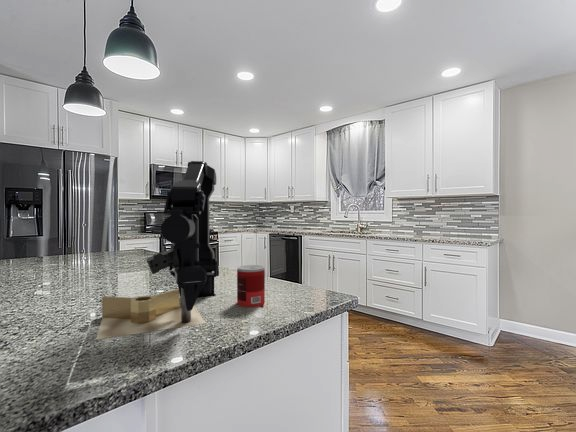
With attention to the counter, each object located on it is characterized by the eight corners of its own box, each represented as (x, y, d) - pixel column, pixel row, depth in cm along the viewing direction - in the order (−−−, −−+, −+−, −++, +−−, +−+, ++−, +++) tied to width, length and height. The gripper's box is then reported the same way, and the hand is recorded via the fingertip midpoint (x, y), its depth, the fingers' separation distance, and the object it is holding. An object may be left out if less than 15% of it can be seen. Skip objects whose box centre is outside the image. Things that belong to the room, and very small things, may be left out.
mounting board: (193, 307, 88) (193, 304, 88) (205, 326, 74) (205, 322, 74) (102, 319, 78) (102, 316, 78) (96, 343, 64) (95, 339, 64)
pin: (190, 319, 76) (190, 286, 76) (191, 322, 74) (191, 288, 74) (180, 320, 75) (180, 287, 75) (181, 323, 73) (181, 289, 73)
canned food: (268, 303, 93) (268, 265, 93) (257, 311, 85) (257, 270, 85) (245, 300, 95) (245, 264, 95) (232, 308, 88) (232, 268, 88)
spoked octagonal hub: (179, 307, 86) (179, 288, 86) (184, 317, 78) (184, 297, 78) (102, 316, 78) (102, 296, 78) (99, 329, 70) (98, 306, 70)
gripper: (146, 237, 79) (147, 299, 80) (150, 244, 63) (151, 322, 63) (192, 235, 84) (192, 294, 84) (207, 241, 68) (207, 314, 68)
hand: (186, 304), depth 75 cm, fingers open, 9 cm apart
